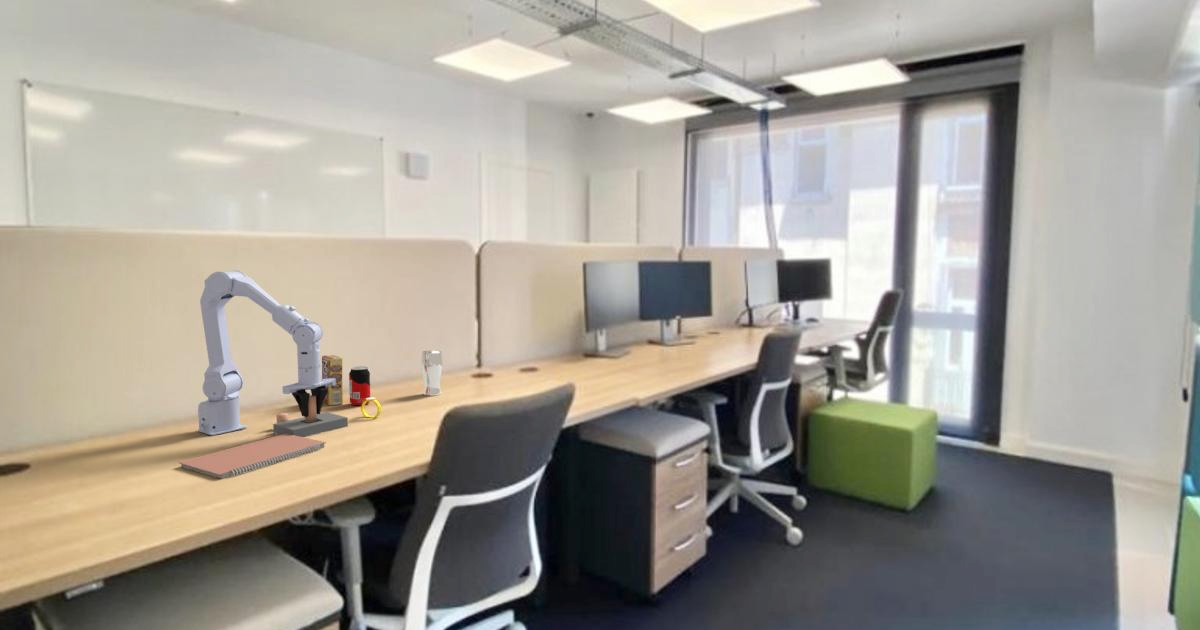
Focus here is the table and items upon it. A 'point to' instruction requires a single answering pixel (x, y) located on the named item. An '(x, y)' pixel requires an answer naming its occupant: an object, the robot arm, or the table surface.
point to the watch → (370, 401)
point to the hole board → (311, 425)
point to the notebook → (252, 455)
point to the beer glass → (432, 372)
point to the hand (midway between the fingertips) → (311, 414)
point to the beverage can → (359, 385)
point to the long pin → (312, 409)
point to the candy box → (334, 370)
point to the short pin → (282, 417)
